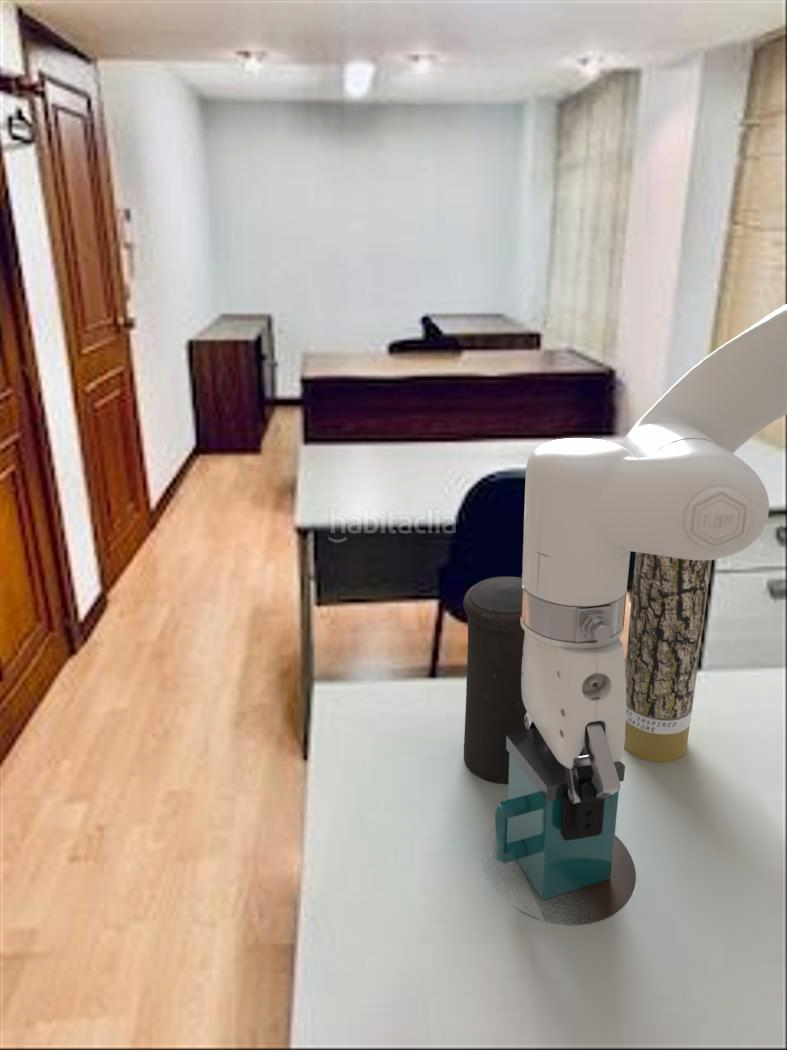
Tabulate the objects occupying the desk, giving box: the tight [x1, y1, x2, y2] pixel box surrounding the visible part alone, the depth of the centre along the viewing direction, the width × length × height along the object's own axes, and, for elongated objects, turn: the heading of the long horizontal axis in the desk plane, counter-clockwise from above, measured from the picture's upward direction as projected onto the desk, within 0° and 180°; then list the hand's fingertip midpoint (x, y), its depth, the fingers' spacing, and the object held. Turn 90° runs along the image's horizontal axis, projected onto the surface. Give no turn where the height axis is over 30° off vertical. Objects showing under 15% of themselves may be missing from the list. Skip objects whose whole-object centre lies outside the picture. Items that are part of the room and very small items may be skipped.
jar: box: [493, 728, 626, 901], centre depth 62 cm, size 9×7×11 cm
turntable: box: [481, 828, 637, 926], centre depth 65 cm, size 13×13×1 cm
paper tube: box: [624, 552, 713, 763], centre depth 76 cm, size 7×7×25 cm
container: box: [462, 576, 531, 785], centre depth 75 cm, size 9×9×20 cm
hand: (560, 799), depth 62 cm, fingers closed on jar, 7 cm apart
